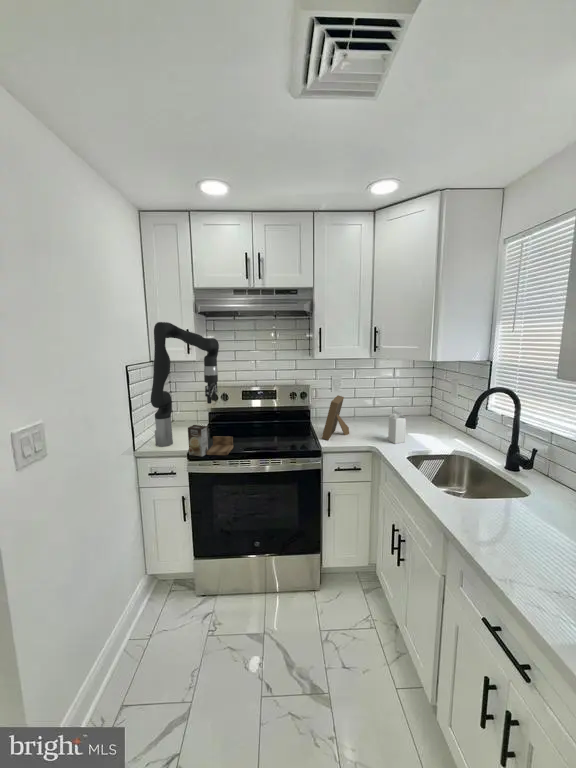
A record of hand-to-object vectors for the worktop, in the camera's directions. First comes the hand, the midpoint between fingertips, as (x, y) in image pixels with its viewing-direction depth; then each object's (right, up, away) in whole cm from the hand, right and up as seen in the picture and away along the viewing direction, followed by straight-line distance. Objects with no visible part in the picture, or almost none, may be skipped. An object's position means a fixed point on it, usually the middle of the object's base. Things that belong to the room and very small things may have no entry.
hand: (211, 401), depth 186 cm
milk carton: (+110, -25, +13) cm, 114 cm away
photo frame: (+76, -24, +27) cm, 84 cm away
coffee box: (-7, -30, -1) cm, 31 cm away
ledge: (+4, -29, +2) cm, 29 cm away
